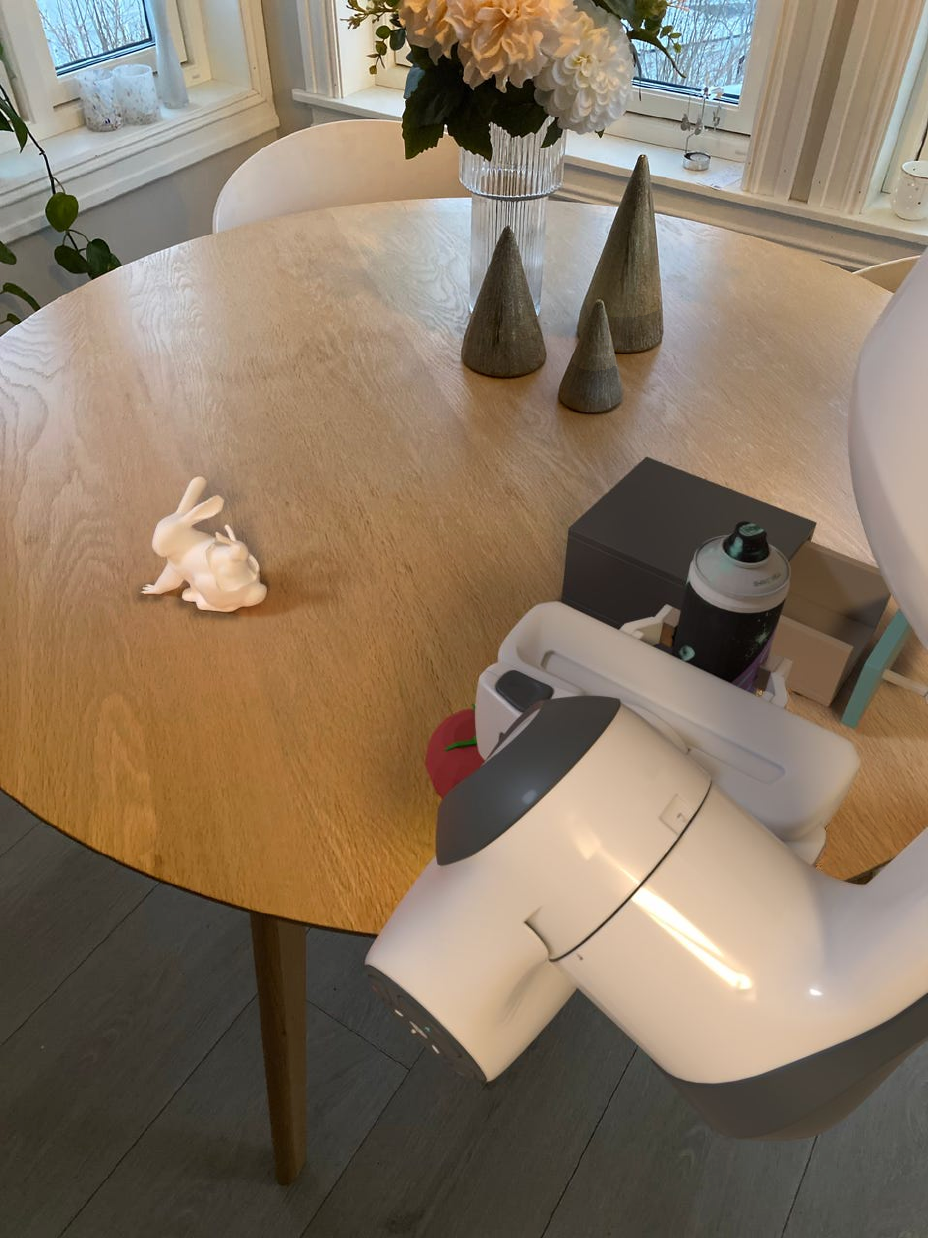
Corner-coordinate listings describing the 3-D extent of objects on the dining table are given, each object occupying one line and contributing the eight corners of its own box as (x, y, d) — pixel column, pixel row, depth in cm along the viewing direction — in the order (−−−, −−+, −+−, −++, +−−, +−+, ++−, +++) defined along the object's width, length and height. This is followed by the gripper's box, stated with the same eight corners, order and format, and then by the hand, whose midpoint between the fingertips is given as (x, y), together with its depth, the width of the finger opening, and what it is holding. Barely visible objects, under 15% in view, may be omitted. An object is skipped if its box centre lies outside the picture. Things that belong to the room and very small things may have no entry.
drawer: (966, 666, 80) (997, 607, 76) (918, 760, 73) (949, 701, 68) (740, 570, 89) (755, 511, 85) (677, 645, 82) (691, 586, 77)
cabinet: (793, 596, 88) (817, 522, 82) (728, 683, 80) (749, 608, 74) (634, 528, 95) (646, 455, 89) (560, 602, 87) (568, 528, 81)
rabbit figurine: (138, 593, 88) (112, 508, 81) (186, 545, 93) (165, 461, 86) (250, 628, 85) (233, 543, 78) (294, 577, 90) (281, 492, 83)
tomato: (522, 743, 75) (527, 676, 70) (540, 826, 70) (547, 761, 64) (421, 752, 75) (418, 686, 69) (430, 837, 69) (428, 772, 64)
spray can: (641, 781, 64) (689, 547, 50) (660, 723, 68) (710, 490, 54) (723, 806, 62) (796, 572, 49) (738, 745, 66) (810, 512, 52)
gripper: (815, 857, 43) (915, 678, 51) (454, 662, 52) (588, 536, 60) (784, 928, 47) (880, 753, 56) (455, 737, 56) (580, 610, 65)
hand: (726, 639), depth 58 cm, fingers closed on spray can, 5 cm apart
